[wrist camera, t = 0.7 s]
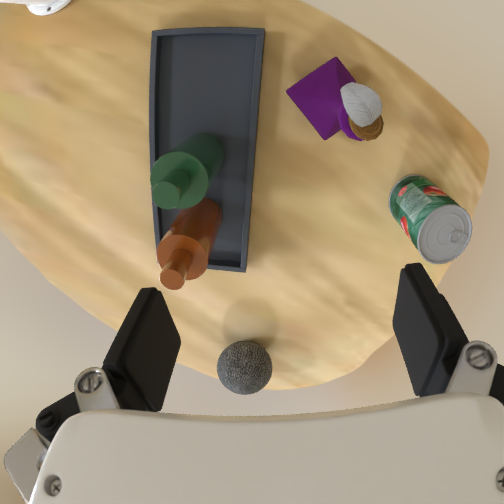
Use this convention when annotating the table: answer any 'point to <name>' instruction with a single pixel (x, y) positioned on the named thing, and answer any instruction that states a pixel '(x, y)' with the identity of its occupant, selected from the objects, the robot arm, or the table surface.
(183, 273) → the amber bottle
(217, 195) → the tray
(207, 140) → the green bottle
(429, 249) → the canned tomato
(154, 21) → the table surface
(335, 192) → the table surface
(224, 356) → the decorative ball
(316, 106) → the perfume bottle
